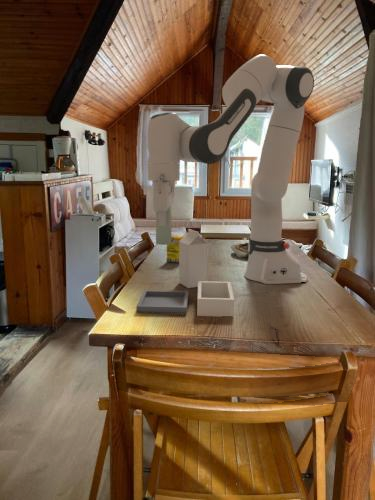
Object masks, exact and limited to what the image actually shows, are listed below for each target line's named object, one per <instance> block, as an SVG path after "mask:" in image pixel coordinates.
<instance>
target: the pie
mask: <svg viewBox="0 0 375 500" xmlns="http://www.w3.org/2000/svg"><path fill="white" fill-rule="evenodd" d="M248 243H249V242H243V243H242V242H241V243H237V244H232V245H231V246H230V248H231V251H233V252H234V254H235V255H236V257H237V258H239V259H247V260H248V258H249V253H248Z"/></svg>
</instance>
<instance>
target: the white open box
mask: <svg viewBox="0 0 375 500" xmlns="http://www.w3.org/2000/svg"><path fill="white" fill-rule="evenodd" d="M234 306H235V297H234V293H233V288H232V283H231V281H214V280H213V281H211V280H209V281H208V280H207V281H198V287H197V306H196V307H197V308H196V309H197V311H196V314H197V317H222V316H234V314H235V310H234V309H235V307H234Z"/></svg>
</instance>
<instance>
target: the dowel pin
mask: <svg viewBox="0 0 375 500" xmlns="http://www.w3.org/2000/svg"><path fill="white" fill-rule="evenodd" d="M172 204H173V203H172V201H170V207H169V208H168V210H167V211H166V225H165V226H160V225H159V215H158V212H157V211H155V244H156V245H165V246H167V244H171V235H172Z"/></svg>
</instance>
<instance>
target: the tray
mask: <svg viewBox="0 0 375 500" xmlns="http://www.w3.org/2000/svg"><path fill="white" fill-rule="evenodd" d="M188 304H189V291H188V290H158V289H157V290H155V289H154V290H153V289H149V290H147V289H146V290H145V289H143V291H142V294H141V296H140V298H139V300H138V302H137V305H136V313H137V314H161V315H162V314H163V315H165V314H167V315H168V314H169V315H187V314H188V313H187V312H188Z"/></svg>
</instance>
